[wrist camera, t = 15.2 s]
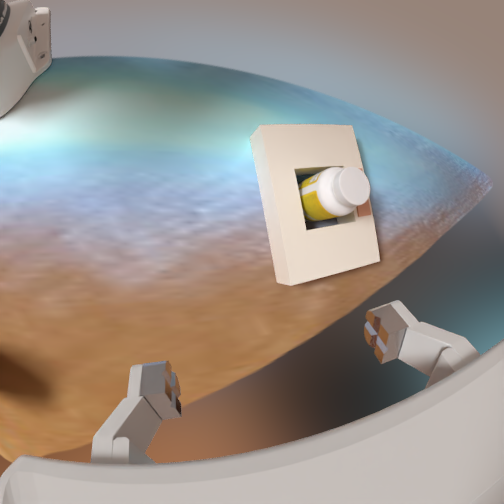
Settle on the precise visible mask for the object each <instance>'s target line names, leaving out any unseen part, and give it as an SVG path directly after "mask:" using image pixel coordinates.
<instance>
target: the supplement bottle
mask: <svg viewBox="0 0 504 504" xmlns="http://www.w3.org/2000/svg"><path fill="white" fill-rule="evenodd" d="M298 189H299V194H300V199H301V204H302V209H303V214H304V220H306V221H310V222H315V221H321V220H326V219H330V218H335V217H340V216H344V215H347V214H349V213H351V212H352V211H354V209H355V208H356V207H357V206H358V205H362V204H364V203H365V202H366V201H367V200H368V198H369V195H370V184H369V180H368V178H367V176H366V175H365V174H364V173H363V171H361V170H360V169H358V168H356V167H347V168H340V167H332V168H328V169H326V170H324V171H322V172H320V173H318V174H316V175H314V176H312V177H310V178H308V179H305V180H303V181H302V182H300V183H299V184H298Z"/></svg>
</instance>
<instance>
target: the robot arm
mask: <svg viewBox="0 0 504 504" xmlns="http://www.w3.org/2000/svg"><path fill="white" fill-rule="evenodd" d="M50 30H51V29H50V10H49V8H47V7H40V8H33V6H32V3H31V2H30V1H28V0H19V1H14V2H10V3H6V2H5V1H4V0H0V117H1V116H3V115H4V114H5V113H7V112H8V111H9V110H10V109H11V108H12V107H13V106H14V105H15V104H16V103H17V102H18V101H19V100H20V99H21V97H22V96H23V95H24V93H25V92H26V91H27V89H28V88H29V86H30V85H31V84H32V82H33V81H34V80H35V79H36V78H37V77H38V76H39V75H41V74H42V73H43V72H44V71H45V70H46V69H47V68H48V67H49V66H50V65H51V63H52V55H51V35H50V34H51V31H50ZM43 57H44V58H43ZM366 319H367V320H368V322H367V323H366V324H365V326H364V335H365V339H366V341H367V343H368V344H369V346H371V347H373V348H375V352H374V354H375V355H376V357H377V358H378V360H379V361H380V363H381V364H383V363H385V362H388V361H391V360H393V359H396V358H398V359H400V360H402V361H403V362H405V363H407V364H409V365H410V366H412V367H414V368H416V369H418V370H419V371H421V372H423V373H425V374H426V375H428V376H430V379H429V381H428V383H427V385H426V389H424V390H422V391H420V392H419V393H417V394H415V395H413V396H411V397H409V398H407V399H405V400H403V401H400V402H398V403H396V404H394V405H392V406H390V407H387V408H385V409H383V410H381V411H378V412H376V413H374V414H372V415H369V416H366V417H364V418H362V419H359V420H356V421H354V422H351V423H348V424H346V425H343V426H340V427H337V428H335V429H332V430H329V431H326V432H323V433H320V434H317V435H313V436H310V437H307V438H303V439H300V440H296V441H293V442H289V443H285V444H281V445H277V446H273V447H269V448H265V449H260V450H256V451H251V452H246V453H241V454H235V455H230V456H224V457H217V458H211V459H203V460H194V461H185V462H175V463H174V462H173V463H158V464H156V463H155V462H154V461H153V460H152V459H150V458H149V457H148V456H147V455H146V454H145V451H146V450H147V448H148V446H149V444H150V442H151V441H152V439H153V437H154V435H155V433H156V431H157V429H158V428H159V426H160V424H161V422H162V420H164V419H172V418H178V417H181V403H180V401H179V400H178V398H179V396H180V395H181V393H180V385H179V381H178V378H177V376H176V374H175V373H174V372H172V371H171V365H170V363H169V361H161V362H154V363H146V364H139V365H132V367H131V370H130V377H129V386H128V395H127V398H124V399H123V400H122V401H121V403H120V404H119V405H118V406H117V408H116V409H115V410H114V411H113V413H112V414H111V415H110V416H109V418H108V419H107V420H106V421H105V423H104V424H103V425H102V426H101V428H100V429H99V430H98V432H97V433H96V434H95V435H94V437H93V445H92V454H91V463H83V462H71V461H63V460H56V459H49V458H42V457H36V456H31V455H21V456H20V457H18V458H17V459H16V460H15V461H14V462H13V463H12V464H11V465H10V466H9V467H8V468H7V469H6V471H5V472H4V473H3V474H2V476H1V478H0V504H504V339H503V340H501V341H500V342H499V343H497V344H496V345H495V346H493V347H492V348H491V349H489V350H488V351H486V352H485V353H484V354H482V355H480V354H479V353H478V352H477V351H476V349H475V348H474V347H473V346H472V345H471V344H470V342H469V341H468V340H467V339H466V338H465V337H462V336H460V335H457V334H454V333H451V332H448V331H445V330H443V329H441V328H438V327H435V326H433V325H430V324H427V323H425V322H420V323H419V322H418V320H417V319H416V318H415V317H414V316H413V315H412V314H411V313H410V312H409V310H408V309H407V308H406V307H405V306H404V305H403V304H402V302H401V301H399V300H396V301H394V302H391V303H389V304H385V305H382V306H379V307H377V308H374V309H371V310H368V311H367V313H366Z"/></svg>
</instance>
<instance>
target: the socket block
mask: <svg viewBox="0 0 504 504" xmlns="http://www.w3.org/2000/svg"><path fill="white" fill-rule="evenodd" d="M250 143H251V148H252V153H253V158H254V163H255V168H256V173H257V178H258V183H259V188H260V193H261V199H262V204H263V209H264V214H265V220H266V225H267V230H268V236H269V241H270V247H271V252H272V258H273V263H274V269H275V274H276V280H277V283H281V284H286V285H290V286H292V285H296V284H299V283H303V282H307V281H311V280H315V279H318V278H322V277H326V276H329V275H333V274H337V273H340V272H344V271H347V270H351V269H355V268H358V267H362V266H365V265H368V264H372V263H375V262H379V261H380V256H379V249H378V243H377V236H376V230H375V224H374V218H373V213H372V208H371V202H370V197H369V198H368V200H367V201H366V202H365V203H364V204H362V205H358V206H357V207H356V208H355V209H354V211H352V212H351V213H349V214H347V215H344V216H340V217H337V222H338V225H332V226H327V227H321V228H316V229H310V230H306V225H305V220H304V214H303V209H302V204H301V199H300V194H299V189H298V184H297V179H296V176H299V175H310V174H318V173H320V172H322V171H324V170H326V169H328V168H332V167H340V168H347V167H356V168H358V169H360V170H361V171H363V173H364V170H363V165H362V161H361V157H360V153H359V149H358V145H357V142H356V138H355V134H354V131H353V127H352V125H329V124H272V125H259V127H258V128H257V129H256V130H255V131H254V133H253V134H252V135H251V136H250Z"/></svg>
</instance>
